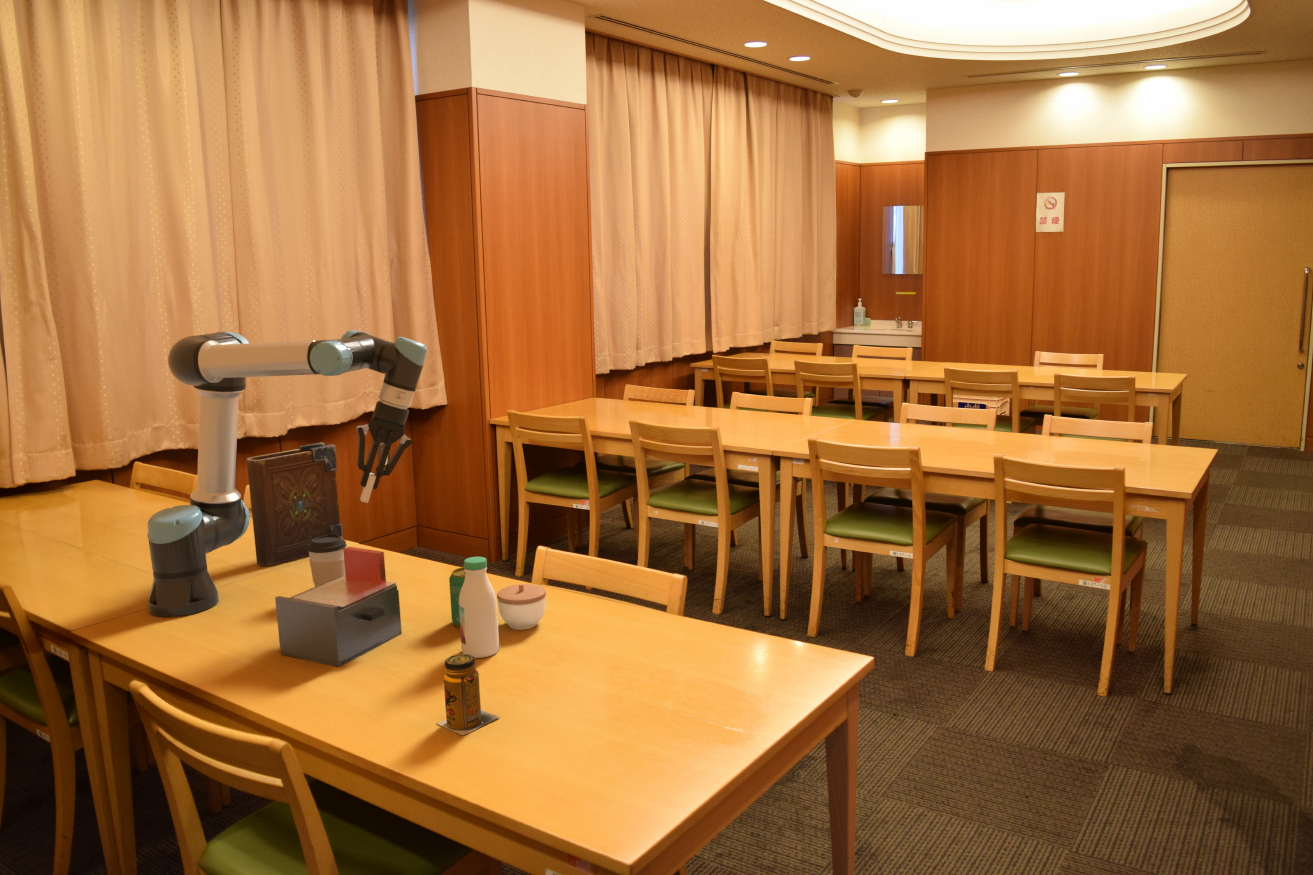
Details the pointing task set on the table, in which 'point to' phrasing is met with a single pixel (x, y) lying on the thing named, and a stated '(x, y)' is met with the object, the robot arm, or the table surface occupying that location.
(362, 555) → the lid
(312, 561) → the coffee cup
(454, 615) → the beverage can
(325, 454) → the decorative book
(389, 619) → the gray drawer chest
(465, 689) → the condiment
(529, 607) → the lidded jar
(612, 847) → the table surface
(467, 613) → the milk bottle
